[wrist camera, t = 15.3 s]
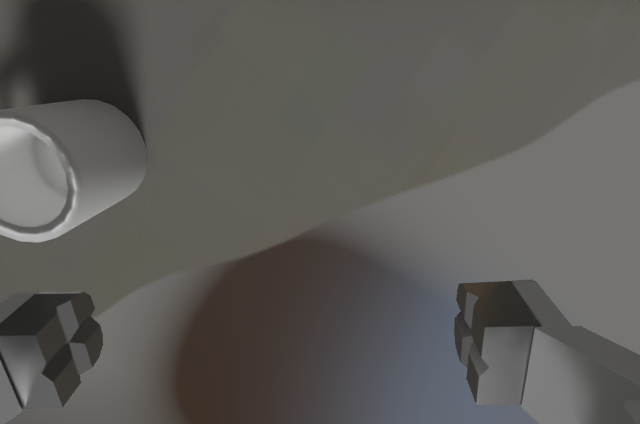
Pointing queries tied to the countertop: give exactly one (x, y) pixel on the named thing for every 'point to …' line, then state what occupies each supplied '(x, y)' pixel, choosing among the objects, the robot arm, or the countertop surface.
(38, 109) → the mug
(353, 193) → the countertop surface
